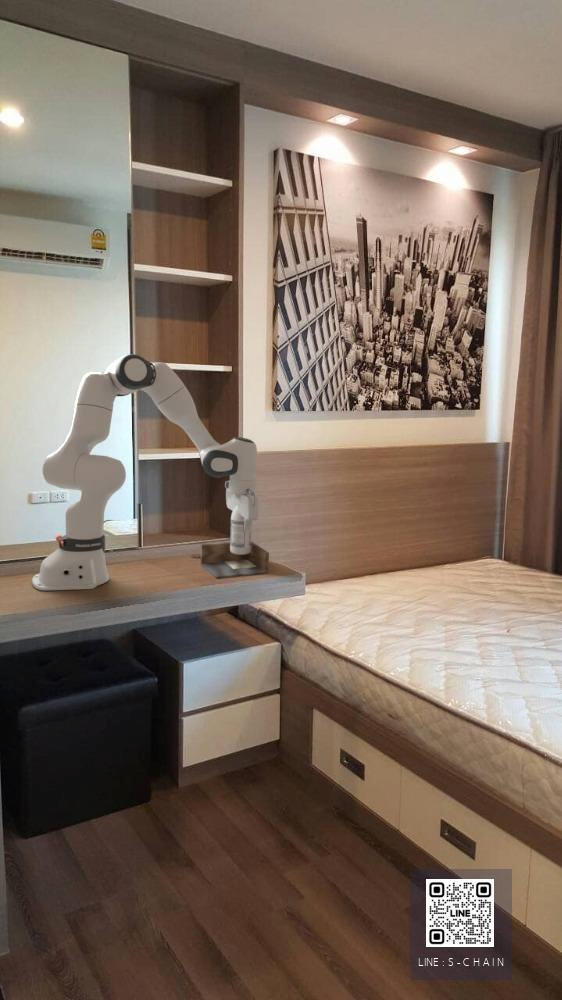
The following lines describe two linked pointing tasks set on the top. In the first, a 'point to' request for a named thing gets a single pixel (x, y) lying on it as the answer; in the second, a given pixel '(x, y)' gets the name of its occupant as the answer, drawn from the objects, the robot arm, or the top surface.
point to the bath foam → (239, 534)
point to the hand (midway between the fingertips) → (241, 527)
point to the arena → (233, 560)
